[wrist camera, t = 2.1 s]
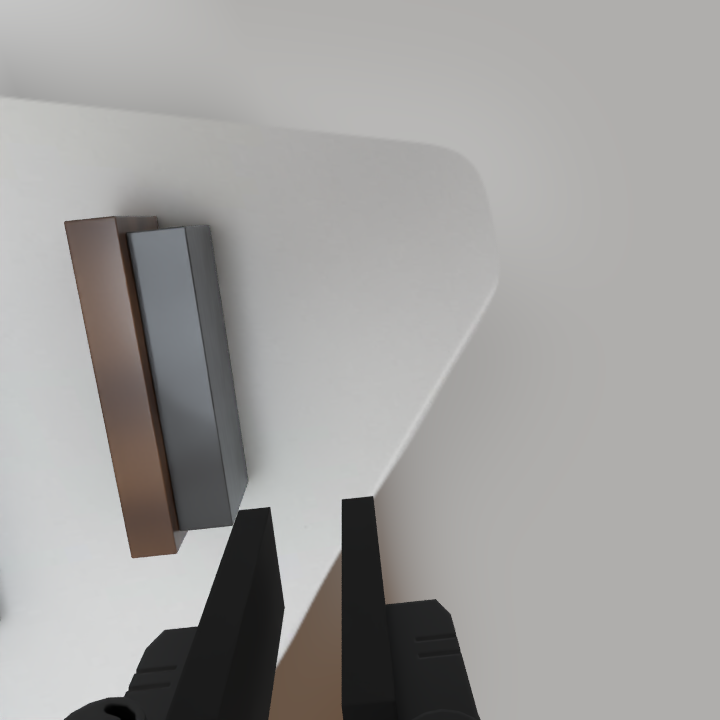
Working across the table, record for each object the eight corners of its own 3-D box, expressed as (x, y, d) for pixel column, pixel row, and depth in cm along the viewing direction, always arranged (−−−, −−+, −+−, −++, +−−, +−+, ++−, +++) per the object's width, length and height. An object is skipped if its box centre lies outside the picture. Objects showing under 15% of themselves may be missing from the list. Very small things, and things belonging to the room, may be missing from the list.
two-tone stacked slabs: (114, 220, 37) (63, 221, 30) (207, 210, 37) (177, 209, 30) (166, 502, 41) (131, 559, 34) (250, 493, 41) (232, 548, 34)
